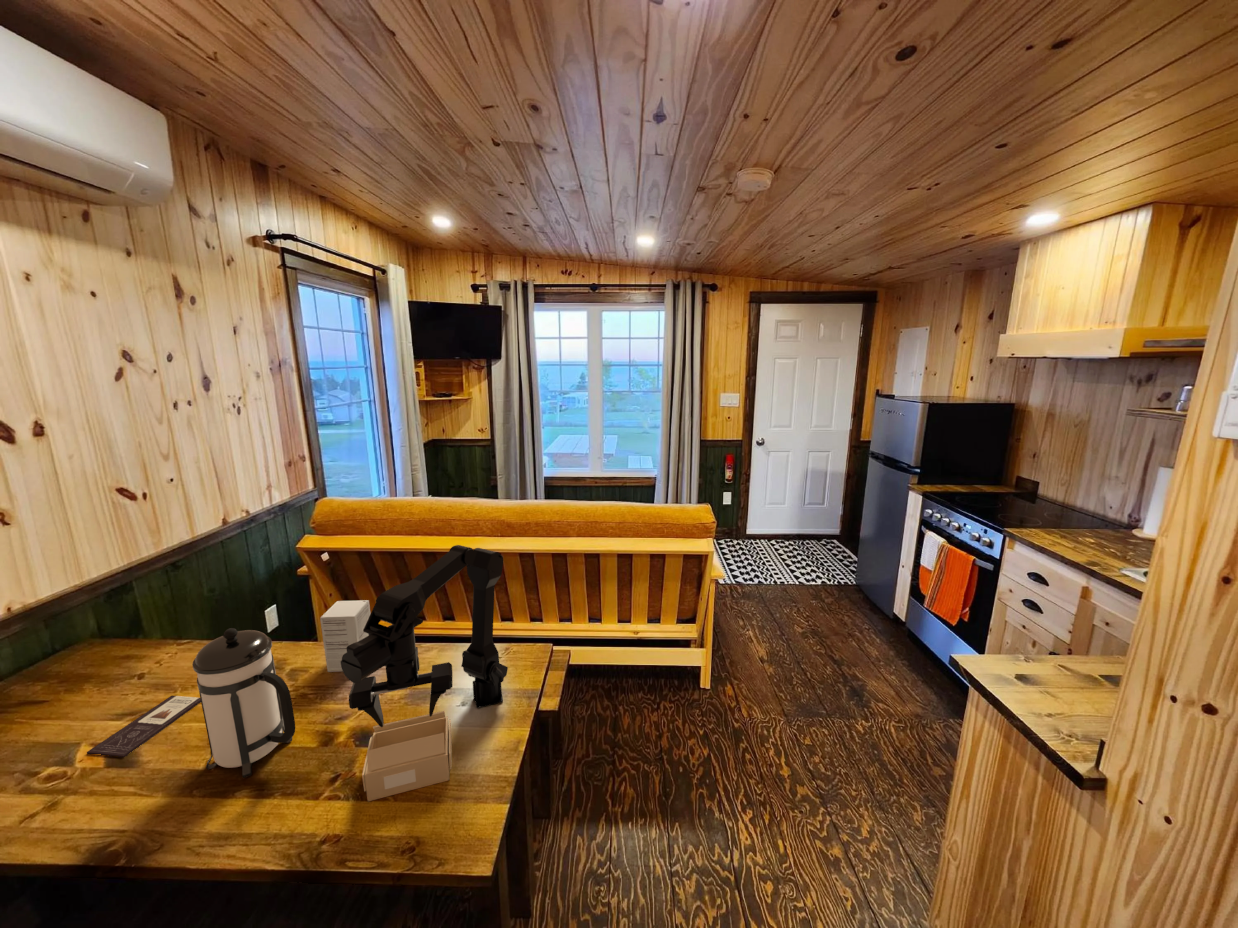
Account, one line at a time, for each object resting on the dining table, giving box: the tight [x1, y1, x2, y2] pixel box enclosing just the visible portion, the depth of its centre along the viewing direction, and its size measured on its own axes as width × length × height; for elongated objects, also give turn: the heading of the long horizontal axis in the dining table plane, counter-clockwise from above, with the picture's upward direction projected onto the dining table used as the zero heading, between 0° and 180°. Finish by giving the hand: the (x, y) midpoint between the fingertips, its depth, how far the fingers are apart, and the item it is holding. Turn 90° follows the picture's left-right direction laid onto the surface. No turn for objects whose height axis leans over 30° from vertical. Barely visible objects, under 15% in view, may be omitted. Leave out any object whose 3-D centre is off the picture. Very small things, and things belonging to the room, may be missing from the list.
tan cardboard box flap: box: [372, 710, 446, 733], centre depth 101 cm, size 14×4×1 cm
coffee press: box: [192, 627, 296, 779], centre depth 99 cm, size 17×16×30 cm
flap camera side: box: [367, 733, 445, 771], centre depth 93 cm, size 14×4×1 cm
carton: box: [361, 715, 453, 802], centre depth 98 cm, size 16×12×6 cm
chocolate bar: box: [86, 695, 201, 758], centre depth 110 cm, size 9×1×18 cm
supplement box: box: [319, 599, 371, 673], centre depth 133 cm, size 10×9×17 cm
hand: (407, 720), depth 97 cm, fingers open, 9 cm apart
